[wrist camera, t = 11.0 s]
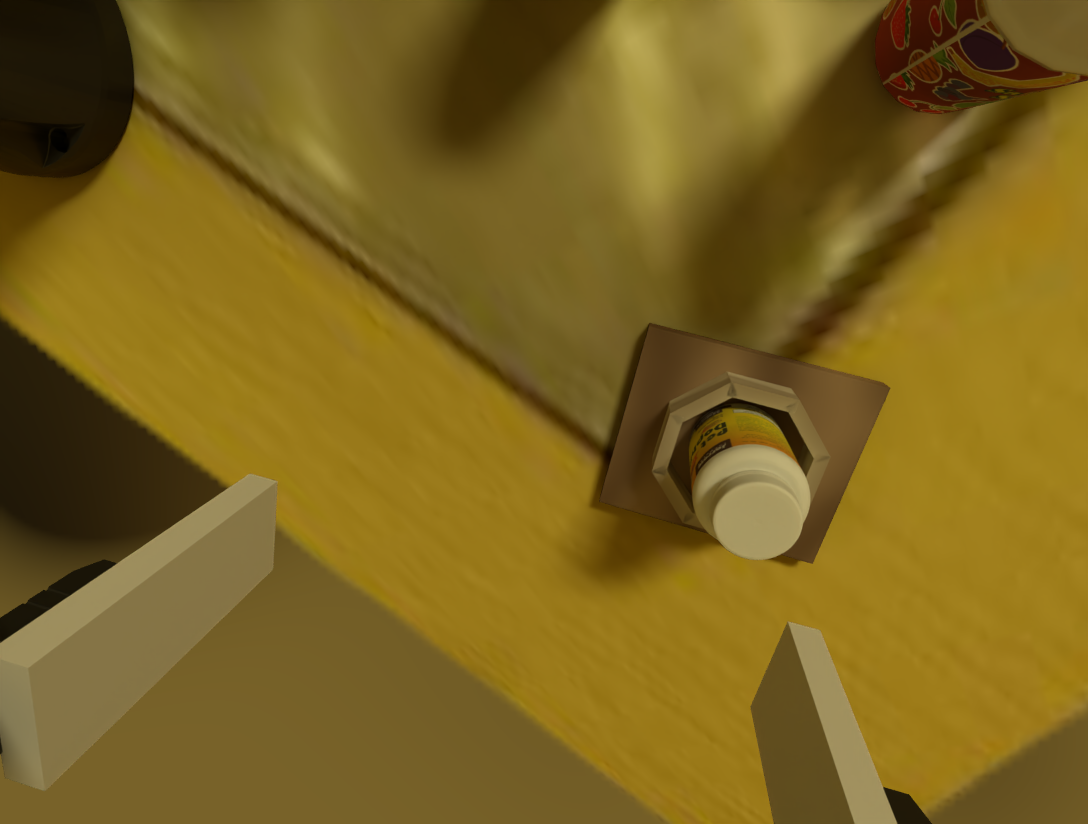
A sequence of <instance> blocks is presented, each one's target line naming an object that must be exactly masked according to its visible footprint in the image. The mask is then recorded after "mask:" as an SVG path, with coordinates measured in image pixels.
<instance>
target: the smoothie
mask: <svg viewBox="0 0 1088 824" xmlns="http://www.w3.org/2000/svg"><path fill="white" fill-rule="evenodd" d="M875 59H876V67H877V69H878V72H879V75H880V78H881V81H882V84H883V86H884V87H885V88H886V89H887V90H888V91H889V93H890V94H891V95H892V96H893V97H894V98H895V99H896V100H897V101H898V102H899V103H901V104H903V105H905V106H907V107H909V108H911V109H913V110H915V111H918V112H926V113H934V114H942V113H948V112H953V111H958V110H964V109H967V108H971V107H976V106H980V105H984V104H988V103H993V102H997V101H1001V100H1005V99H1010V98H1014V97H1018V96H1023V95H1027V94H1031V93H1035V92H1040V91H1044V90H1048V89H1053V88H1057V87H1061V86H1065V85H1070V84H1074V83H1078V82H1082V81H1087V80H1088V0H891V1H890V3H889V4H888V6H887V8H886V9H885V11H884V13H883V14H882V18H881V21H880V25H879V28H878V32H877V35H876V39H875Z"/></svg>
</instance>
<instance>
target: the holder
mask: <svg viewBox="0 0 1088 824" xmlns="http://www.w3.org/2000/svg"><path fill="white" fill-rule="evenodd" d="M889 390H890V388H889V387H888V386H887V385H885V384H884V383H882V382H878V381H874V380H870V379H867V378H863V377H859V376H855V375H851V374H847V373H843V372H839V371H835V370H831V369H827V368H824V367H820V366H816V365H812V364H808V363H804V362H800V361H796V360H792V359H788V358H785V357H781V356H777V355H773V354H769V353H765V352H761V351H757V350H753V349H749V348H745V347H742V346H738V345H734V344H730V343H726V342H722V341H718V340H714V339H710V338H706V337H703V336H699V335H695V334H691V333H687V332H683V331H679V330H675V329H671V328H667V327H663V326H660V325H656V324H652V323H650V324H649V327H648V331H647V334H646V338H645V341H644V345H643V348H642V352H641V355H640V359H639V362H638V366H637V369H636V373H635V376H634V380H633V383H632V387H631V390H630V394H629V397H628V401H627V404H626V408H625V411H624V415H623V418H622V422H621V425H620V429H619V432H618V436H617V439H616V443H615V446H614V450H613V453H612V457H611V460H610V464H609V467H608V471H607V474H606V478H605V481H604V485H603V488H602V492H601V496H600V500H599V502H602V503H606V504H609V505H613V506H616V507H620V508H623V509H626V510H630V511H633V512H637V513H640V514H644V515H647V516H650V517H654V518H657V519H661V520H664V521H667V522H671V523H674V524H678V525H681V526H685V527H688V528H691V529H695V530H698V531H702V532H705V533H708V532H707V531H706V530H705V529H704V528H703V526H702V525H701V523H700V522H699V520H698V518H697V516H696V513H695V510H694V506H693V500H692V487H691V474H690V462H689V440H690V436H691V433H692V430H693V428H694V427H695V425H696V424H697V422H698V421H699V420H700V419H701V418H702V417H703V416H704V415H705V414H706V413H708V412H709V411H711V410H712V409H714V408H716V407H719V406H722V405H726V404H733V403H741V404H748V405H752V406H755V407H757V408H759V409H761V410H763V411H765V412H766V413H767V414H769V415H770V416H771V417H772V418H773V419H774V420H775V421H776V423H777V424H778V426H779V427H780V429H781V431H782V433H783V435H784V436H785V438H786V440H787V442H788V444H789V446H790V448H791V450H792V452H793V454H794V456H795V458H796V459H797V461H798V463H799V465H800V467H801V469H802V471H803V472H804V474H805V477H806V479H807V482H808V485H809V489H810V508H809V511H808V514H807V517H806V519H805V521H804V523H803V526H802V530H801V533H800V536H799V538H798V539H797V541H796V542H795V543H794V544H793V546H792V547H791V548H789V549H788V550H787V551H786V552H784V553H782V554H781V555H784V556H787V557H791V558H794V559H798V560H801V561H805V562H808V563H811V564H813V562H814V559H815V557H816V555H817V553H818V550H819V548H820V546H821V544H822V541H823V539H824V537H825V535H826V532H827V530H828V528H829V525H830V523H831V521H832V519H833V516H834V514H835V512H836V510H837V507H838V505H839V503H840V501H841V498H842V496H843V494H844V492H845V489H846V487H847V485H848V483H849V480H850V478H851V476H852V474H853V471H854V469H855V467H856V465H857V462H858V460H859V458H860V455H861V453H862V451H863V449H864V446H865V444H866V442H867V440H868V437H869V435H870V433H871V431H872V428H873V426H874V424H875V422H876V419H877V417H878V415H879V413H880V410H881V408H882V406H883V404H884V401H885V399H886V397H887V394H888V392H889Z"/></svg>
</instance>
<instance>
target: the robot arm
mask: <svg viewBox="0 0 1088 824" xmlns="http://www.w3.org/2000/svg"><path fill="white" fill-rule="evenodd" d="M132 92H133V65H132V55H131V49H130V44H129V39H128V35H127V31H126V27H125V24H124V21H123V18H122V15H121V13H120V10H119V7H118V5H117V3H116V1H115V0H0V170H1V171H4V172H9V173H13V174H18V175H25V176H38V177H52V178H62V177H70V176H75V175H78V174H81V173H84V172H86V171H88V170H90V169H92V168H93V167H95V166H96V165H98V164H99V163H100V162H101V161H103V160H104V159H105V158H106V157H107V156H108V154H109V153H110V152H111V151H112V150H113V148H114V147H115V145H116V144H117V142H118V140H119V139H120V137H121V135H122V132H123V130H124V128H125V125H126V122H127V119H128V115H129V111H130V107H131V101H132ZM276 500H277V481H275V480H271V479H268V478H264V477H260V476H257V475H253V474H249V475H247V476H246V477H244V478H243V479H241V480H240V481H238V482H237V483H235V484H234V485H232V486H231V487H230V488H228V489H227V490H225V491H224V492H222V493H221V494H219V495H218V496H216V497H215V498H213V499H212V500H211V501H209V502H208V503H206V504H204V505H203V506H202V507H200V508H199V509H197V510H196V511H194V512H193V513H191V514H190V515H188V516H187V517H185V518H184V519H182V520H181V521H179V522H178V523H176V524H175V525H174V526H172V527H171V528H169V529H168V530H166V531H165V532H163V533H162V534H160V535H159V536H157V537H156V538H154V539H153V540H151V541H150V542H149V543H147V544H146V545H144V546H143V547H141V548H140V549H138V550H137V551H135V552H134V553H132V554H131V555H129V556H128V557H126V558H125V559H123V560H122V561H121V562H119V563H114V562H111V561H107V560H102V561H99V562H96V563H93V564H91V565H88V566H85V567H83V568H80V569H78V570H75V571H73V572H71V573H70V574H68V575H66V576H65V577H63V578H62V579H60V580H59V581H57V582H56V583H54V584H52V585H51V586H49V588H48V590H47V591H45V590H43V591H41V592H40V593H38V594H37V595H35V596H34V597H32V598H30V599H29V600H28V602H27V603H26V604H21V605H19V606H18V607H16V608H15V609H13V610H12V611H10V612H9V613H7V614H5V615H4V616H2V617H1V618H0V754H1V757H2V763H3V769H4V775H5V778H7V779H10V780H13V781H16V782H19V783H22V784H25V785H28V786H31V787H34V788H37V789H40V790H43V791H46V790H47V789H48V788H49V787H50V786H51V785H52V784H53V783H54V782H55V781H56V780H57V779H58V778H59V777H60V776H61V775H62V774H63V773H64V772H65V771H66V770H67V769H68V768H69V767H70V766H72V764H74V763H75V762H76V761H77V760H78V759H79V758H80V757H81V756H82V755H83V754H84V753H85V752H86V751H87V750H88V749H89V748H90V747H91V746H92V745H93V744H94V743H95V742H96V741H97V740H98V739H99V738H100V737H101V736H102V735H103V734H104V733H105V732H106V731H107V730H108V729H109V728H111V727H112V725H114V724H115V723H116V722H117V721H118V720H119V719H120V718H121V717H122V716H123V715H124V714H125V713H126V712H127V711H128V710H129V709H130V708H131V707H132V706H133V705H134V704H135V703H136V702H137V701H138V700H139V699H140V698H141V697H142V696H143V695H144V694H145V693H146V692H147V691H148V690H149V689H150V688H151V687H153V686H154V685H155V684H156V683H157V682H158V681H159V680H160V679H161V678H162V677H163V676H164V675H165V674H166V673H167V672H168V671H169V670H170V669H171V668H172V667H173V666H174V665H175V664H176V663H177V662H178V661H179V660H180V659H181V658H182V657H183V656H184V655H185V654H186V653H188V651H190V650H191V649H192V648H193V647H194V646H195V645H196V644H197V643H198V642H199V641H200V640H201V639H202V638H203V637H204V636H205V635H206V634H207V633H208V632H209V631H210V630H211V629H212V628H213V627H214V626H215V625H216V624H217V623H218V622H219V621H220V620H221V619H222V618H223V617H224V616H226V615H227V614H228V613H229V611H231V610H232V609H233V608H234V607H235V606H236V605H237V604H238V603H239V602H240V601H241V600H242V599H243V598H244V597H245V596H246V595H247V594H248V593H249V592H250V591H251V590H252V589H253V588H254V587H255V586H256V585H257V584H258V583H259V582H260V581H261V580H262V579H263V578H264V577H265V576H267V575H268V574H269V572H271V571H272V570H273V560H274V541H275V520H276ZM751 712H752V717H753V722H754V727H755V732H756V737H757V742H758V747H759V751H760V756H761V761H762V766H763V771H764V776H765V781H766V786H767V791H768V796H769V801H770V806H771V811H772V816H773V821H774V824H932V823H931V822H930V821H929V819H928V818H927V817H926V816H925V814H924V813H923V812H922V810H921V809H920V808H919V807H918V805H917V804H916V803H915V801H914V800H913V799H912V798H911V796H910V795H909V794H905V793H902V792H899V791H895V790H892V789H888V788H885V787H882V784H881V782H880V779H879V777H878V774H877V772H876V769H875V767H874V764H873V762H872V759H871V757H870V754H869V752H868V749H867V747H866V744H865V742H864V739H863V737H862V734H861V732H860V729H859V727H858V724H857V722H856V719H855V717H854V714H853V711H852V709H851V706H850V704H849V701H848V699H847V696H846V694H845V691H844V689H843V686H842V684H841V681H840V679H839V676H838V674H837V671H836V669H835V666H834V664H833V661H832V659H831V656H830V654H829V651H828V649H827V646H826V644H825V641H824V639H823V636H822V634H821V631H820V630H817V629H814V628H810V627H806V626H803V625H799V624H795V623H792V622H787V625H786V627H785V629H784V631H783V634H782V636H781V638H780V641H779V643H778V645H777V647H776V650H775V652H774V654H773V657H772V659H771V661H770V663H769V666H768V668H767V670H766V673H765V675H764V677H763V679H762V682H761V684H760V686H759V689H758V691H757V693H756V695H755V698H754V700H753V702H752V705H751Z"/></svg>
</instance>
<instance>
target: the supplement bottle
mask: <svg viewBox="0 0 1088 824" xmlns="http://www.w3.org/2000/svg"><path fill="white" fill-rule="evenodd" d="M689 462H690V474H691V487H692V500H693V506H694V510H695V513H696V516H697V518H698V520H699V522H700V523H701V525H702V526H703V528H704V529H705V530H706V531H707V532H708V533H709V534H710V535H711V536H713V537H714V538H715V539H717V540H718V541H719V542H720V543H721V544H722V545H723V546H724V548H726V549H727V550H728V551H729V552H731V553H733V554H735V555H737V556H739V557H742V558H746V559H751V560H764V559H770V558H773V557H776V556H778V555H780V554H782V553H784V552H786V551H787V550H788V549H789V548H791V547H792V546H793V544H794V543H795V542H796V541H797V539H798V538H799V536H800V533H801V530H802V526H803V523H804V521H805V519H806V517H807V514H808V511H809V508H810V489H809V485H808V482H807V479H806V477H805V474H804V472H803V471H802V469H801V467H800V465H799V463H798V461H797V459H796V458H795V456H794V454H793V452H792V450H791V448H790V446H789V444H788V442H787V440H786V438H785V436H784V435H783V433H782V431H781V429H780V427H779V426H778V424H777V423H776V421H775V420H774V419H773V418H772V417H771V416H770V415H769V414H767V413H766V412H765V411H763V410H761V409H759V408H757V407H755V406H752V405H748V404H741V403H733V404H726V405H722V406H719V407H716V408H714V409H712V410H711V411H709V412H708V413H706V414H705V415H704V416H703V417H702V418H701V419H700V420H699V421H698V422H697V424H696V425H695V427H694V428H693V430H692V433H691V436H690V440H689Z"/></svg>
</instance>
